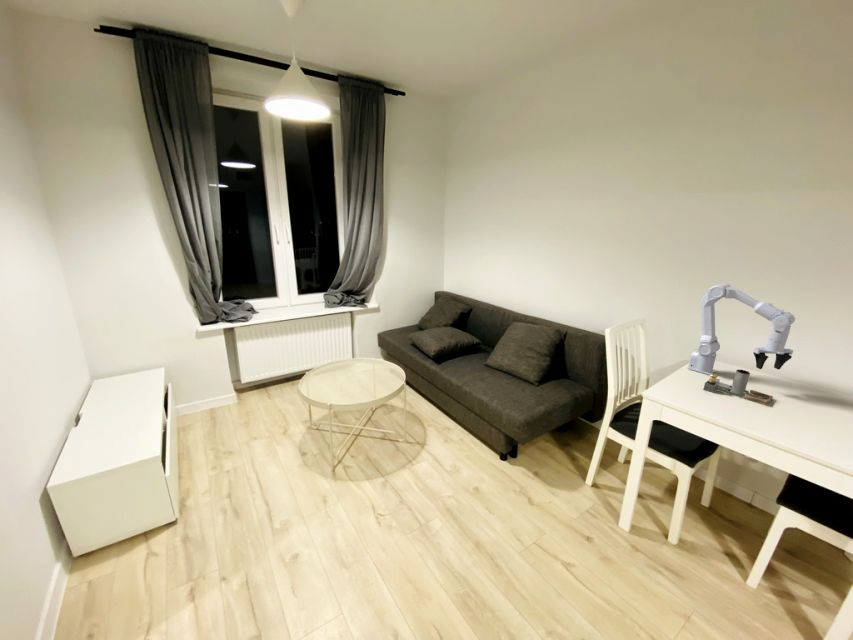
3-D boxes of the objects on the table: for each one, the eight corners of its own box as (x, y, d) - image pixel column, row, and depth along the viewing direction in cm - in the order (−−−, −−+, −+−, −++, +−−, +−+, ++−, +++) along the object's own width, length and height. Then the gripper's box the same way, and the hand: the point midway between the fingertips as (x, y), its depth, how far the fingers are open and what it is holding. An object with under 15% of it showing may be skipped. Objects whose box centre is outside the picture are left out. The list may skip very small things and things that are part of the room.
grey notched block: (707, 385, 163) (709, 379, 162) (710, 383, 165) (712, 377, 165) (726, 391, 158) (728, 385, 157) (729, 388, 160) (730, 382, 159)
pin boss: (703, 389, 159) (705, 382, 158) (706, 386, 162) (708, 379, 161) (713, 393, 156) (715, 386, 155) (717, 389, 159) (718, 383, 158)
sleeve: (704, 386, 162) (705, 384, 162) (710, 381, 167) (711, 379, 167) (743, 398, 152) (743, 396, 152) (748, 392, 156) (748, 391, 156)
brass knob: (706, 383, 158) (708, 374, 157) (708, 382, 160) (711, 372, 158) (714, 386, 156) (716, 376, 155) (716, 384, 158) (718, 375, 156)
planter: (744, 392, 156) (750, 371, 153) (743, 396, 153) (749, 374, 150) (730, 389, 159) (736, 368, 156) (730, 392, 156) (736, 371, 153)
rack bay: (744, 398, 151) (745, 395, 151) (749, 392, 156) (750, 389, 156) (767, 405, 146) (768, 402, 145) (771, 399, 151) (773, 396, 150)
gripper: (767, 343, 149) (758, 371, 153) (803, 343, 148) (793, 372, 153) (753, 337, 156) (745, 365, 160) (788, 337, 155) (778, 365, 159)
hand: (767, 368), depth 157 cm, fingers open, 7 cm apart
